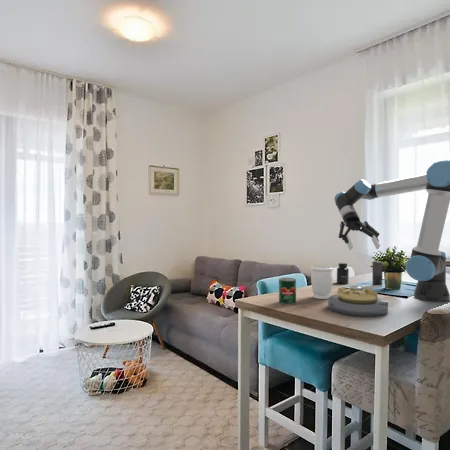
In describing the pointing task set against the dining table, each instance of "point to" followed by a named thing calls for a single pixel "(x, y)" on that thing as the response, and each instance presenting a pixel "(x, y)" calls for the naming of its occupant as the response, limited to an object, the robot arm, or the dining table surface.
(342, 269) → the supplement bottle
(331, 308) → the grey serving platter
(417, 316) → the dining table surface
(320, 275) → the jar
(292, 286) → the canned tomato
